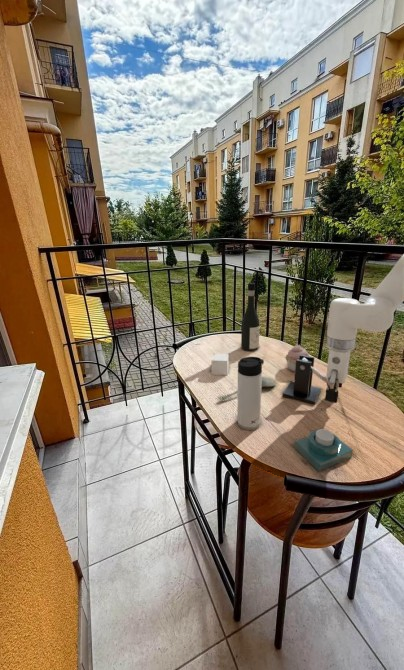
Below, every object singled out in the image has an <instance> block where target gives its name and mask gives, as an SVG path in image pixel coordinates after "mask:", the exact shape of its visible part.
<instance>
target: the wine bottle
mask: <svg viewBox="0 0 404 670" xmlns="http://www.w3.org/2000/svg"><path fill="white" fill-rule="evenodd" d="M255 288H256V283H255V282H248V283H247V307H246V309H245V312H244V314H243V317H242V321H241V325H240V326H241V329H240V330H241V333H240V334H241V335H240V336H241V339H240V345H241V349H242V350H244V351H245V352H254V351H257V350H259V348H260V329H261V328H260V327H261V323H260V317H259V316H258V312H257V310H256V306H255Z"/></svg>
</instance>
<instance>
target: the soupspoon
mask: <svg viewBox="0 0 404 670" xmlns="http://www.w3.org/2000/svg"><path fill="white" fill-rule="evenodd" d="M275 386H276V383H275V382H274V381H273V380H272V379H269V378H268V377H263V376H262V385H261V388H263V387H268V388H269V387H275ZM236 394H238V390H236V391H234V392H231V393H229V394H227V395H224V396H219V399H220V401H221V402H224V400H225V401H226V399H228V398H230V397H231V396H234V395H236Z"/></svg>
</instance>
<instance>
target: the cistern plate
mask: <svg viewBox="0 0 404 670" xmlns="http://www.w3.org/2000/svg"><path fill="white" fill-rule="evenodd" d="M317 430H318V429H315V430H312V431H310V432H309V434H308V436H306V437H302V438H300V439H297V440H295V442H294V449H295V450H296V451H297V452H298V453H299V454H300V455H301V456H302V457H304V459H305V460H306V461H307V462H308V463H309V464H311V466H312V467H314V468H315V469H316V470H317V471H318V472H321V471H323V470H325V469H328V468H330V467H332V466H334V465H337V464H339V463H341V462H344V461H346V460H349V459H351V458H352V457H353V452H354V451H353V449H352V448H351V447H350V446H348V445H347V444H346V443H345V442H343V441H342V440H340V438H339V437H338V436H337V435H336V434H335V433H333V435H334V442H333V445H331V446H323V445H320V444H318V443H317V442H316V440H315V435H316V431H317Z"/></svg>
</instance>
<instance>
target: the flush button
mask: <svg viewBox="0 0 404 670" xmlns="http://www.w3.org/2000/svg"><path fill="white" fill-rule="evenodd" d="M316 430H317V431H316V435H315V440H316V442H317V443H318V444H320V445H323V446H331V445H333V442H334V435H335V434H334V433H333V432H331V431H330V430H328V429H324V428H320V429H316ZM333 434H334V435H333Z"/></svg>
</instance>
